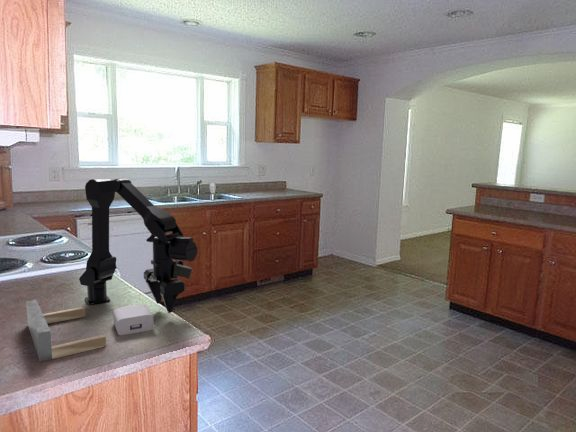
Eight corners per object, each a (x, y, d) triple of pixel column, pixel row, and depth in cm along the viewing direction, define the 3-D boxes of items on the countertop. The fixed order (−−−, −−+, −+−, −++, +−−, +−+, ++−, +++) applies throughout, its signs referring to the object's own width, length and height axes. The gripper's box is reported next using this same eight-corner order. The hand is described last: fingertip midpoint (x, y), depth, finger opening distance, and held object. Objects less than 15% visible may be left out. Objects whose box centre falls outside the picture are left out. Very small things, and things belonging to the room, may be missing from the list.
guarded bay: (27, 325, 118) (26, 301, 117) (84, 314, 127) (83, 292, 126) (39, 361, 99) (37, 333, 97) (106, 346, 107) (104, 319, 106)
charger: (143, 312, 131) (153, 330, 118) (110, 317, 126) (118, 336, 113) (142, 297, 130) (153, 313, 117) (110, 301, 125) (117, 319, 112)
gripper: (202, 260, 123) (202, 312, 126) (176, 248, 138) (177, 294, 141) (164, 266, 117) (165, 320, 119) (142, 252, 132) (143, 300, 134)
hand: (164, 307), depth 128 cm, fingers open, 9 cm apart
